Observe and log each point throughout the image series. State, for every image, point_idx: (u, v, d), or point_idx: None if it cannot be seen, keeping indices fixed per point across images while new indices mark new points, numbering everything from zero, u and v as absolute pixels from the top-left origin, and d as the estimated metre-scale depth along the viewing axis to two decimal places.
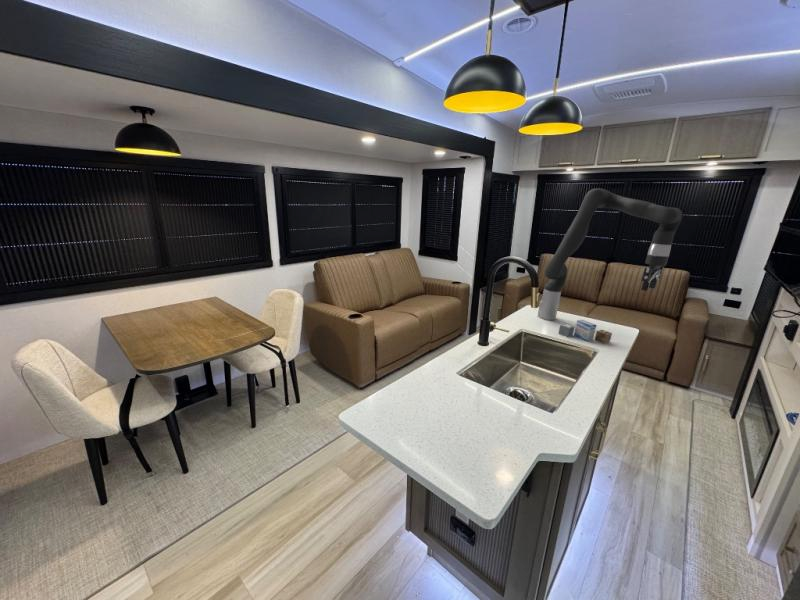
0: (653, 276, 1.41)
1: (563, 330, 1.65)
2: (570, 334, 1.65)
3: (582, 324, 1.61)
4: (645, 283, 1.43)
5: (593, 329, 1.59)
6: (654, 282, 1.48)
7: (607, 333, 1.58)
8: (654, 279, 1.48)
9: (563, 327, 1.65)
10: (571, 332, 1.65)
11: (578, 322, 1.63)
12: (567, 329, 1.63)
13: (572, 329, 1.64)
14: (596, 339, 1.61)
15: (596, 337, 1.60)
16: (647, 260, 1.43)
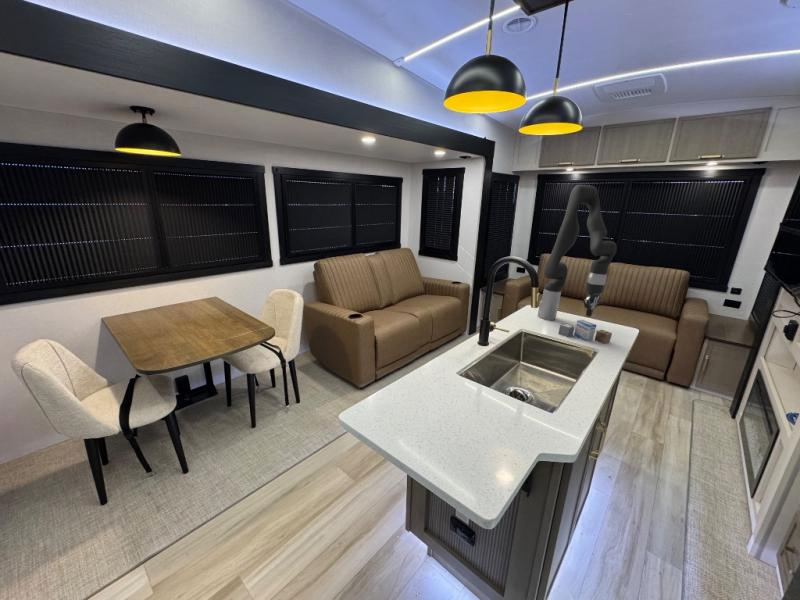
0: (593, 304, 1.56)
1: (563, 330, 1.65)
2: (570, 334, 1.65)
3: (582, 324, 1.61)
4: (588, 310, 1.58)
5: (593, 329, 1.59)
6: None
7: (607, 333, 1.58)
8: None
9: (563, 327, 1.65)
10: (571, 332, 1.65)
11: (578, 322, 1.63)
12: (567, 329, 1.63)
13: (572, 329, 1.64)
14: (596, 339, 1.61)
15: (596, 337, 1.60)
16: (586, 287, 1.56)
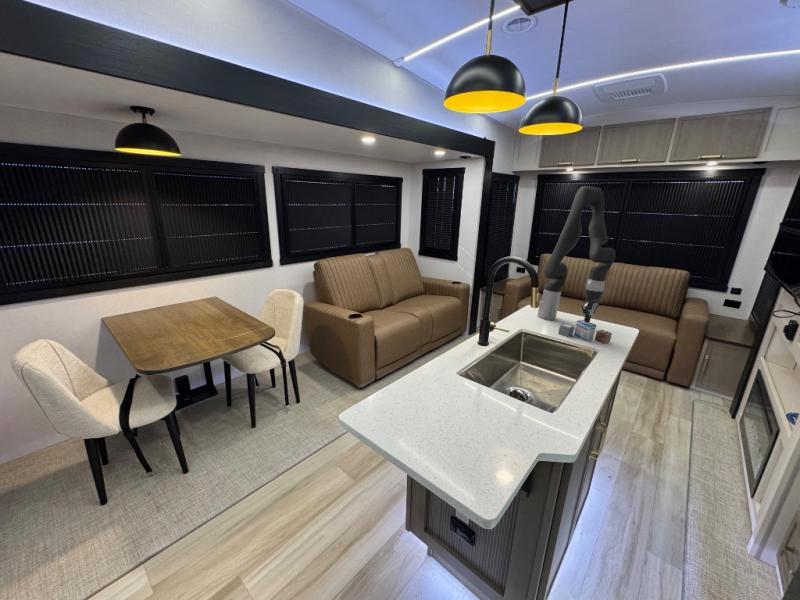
0: (591, 310, 1.57)
1: (563, 330, 1.65)
2: (570, 334, 1.65)
3: (582, 324, 1.61)
4: (586, 315, 1.59)
5: (593, 329, 1.59)
6: None
7: (607, 333, 1.58)
8: None
9: (563, 327, 1.65)
10: (571, 332, 1.65)
11: (578, 322, 1.63)
12: (567, 329, 1.63)
13: (572, 329, 1.64)
14: (596, 339, 1.61)
15: (596, 337, 1.60)
16: (585, 294, 1.57)
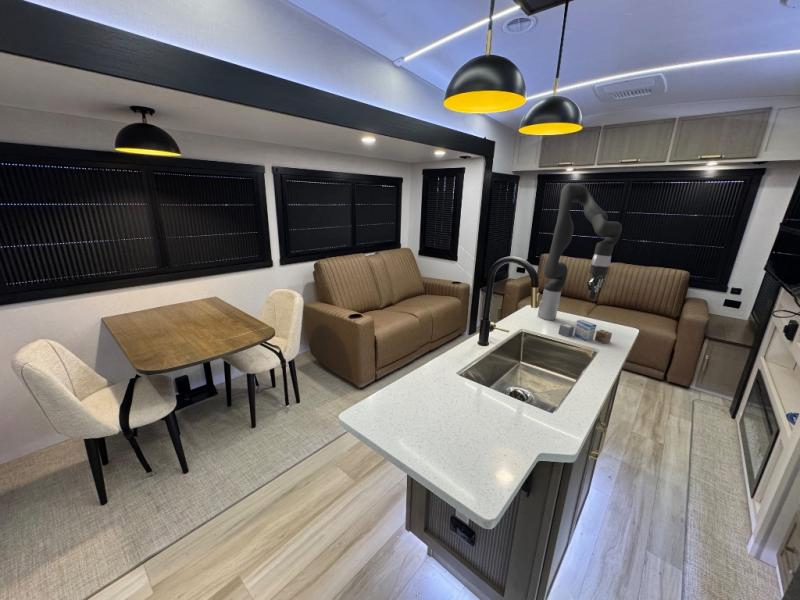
0: (597, 286, 1.53)
1: (563, 330, 1.65)
2: (570, 334, 1.65)
3: (582, 324, 1.61)
4: (592, 292, 1.56)
5: (593, 329, 1.59)
6: None
7: (607, 333, 1.58)
8: None
9: (563, 327, 1.65)
10: (571, 332, 1.65)
11: (578, 322, 1.63)
12: (567, 329, 1.63)
13: (572, 329, 1.64)
14: (596, 339, 1.61)
15: (596, 337, 1.60)
16: (590, 270, 1.53)
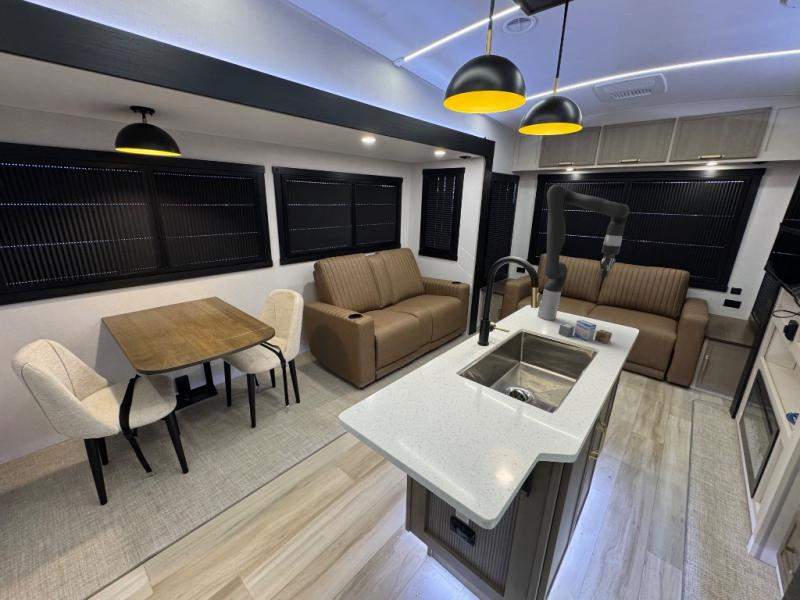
0: (609, 265, 1.65)
1: (563, 330, 1.65)
2: (570, 334, 1.65)
3: (582, 324, 1.61)
4: (604, 271, 1.67)
5: (593, 329, 1.59)
6: None
7: (607, 333, 1.58)
8: None
9: (563, 327, 1.65)
10: (571, 332, 1.65)
11: (578, 322, 1.63)
12: (567, 329, 1.63)
13: (572, 329, 1.64)
14: (596, 339, 1.61)
15: (596, 337, 1.60)
16: (602, 249, 1.65)
